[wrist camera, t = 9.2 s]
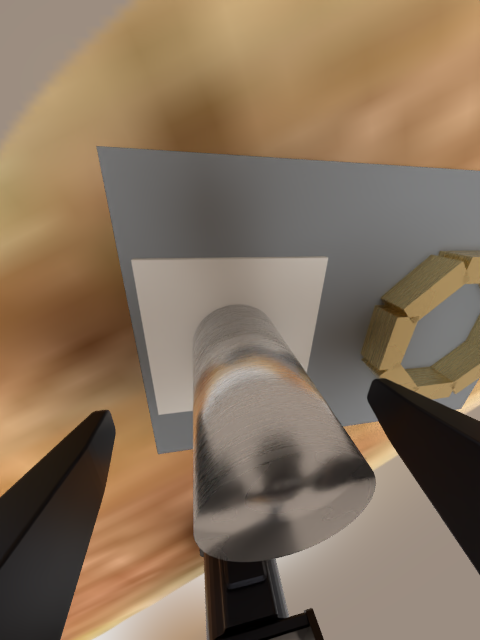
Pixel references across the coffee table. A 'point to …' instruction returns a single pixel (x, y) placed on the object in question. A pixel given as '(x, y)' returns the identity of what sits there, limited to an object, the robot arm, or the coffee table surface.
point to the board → (301, 249)
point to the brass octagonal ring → (401, 319)
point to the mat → (211, 294)
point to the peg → (265, 445)
